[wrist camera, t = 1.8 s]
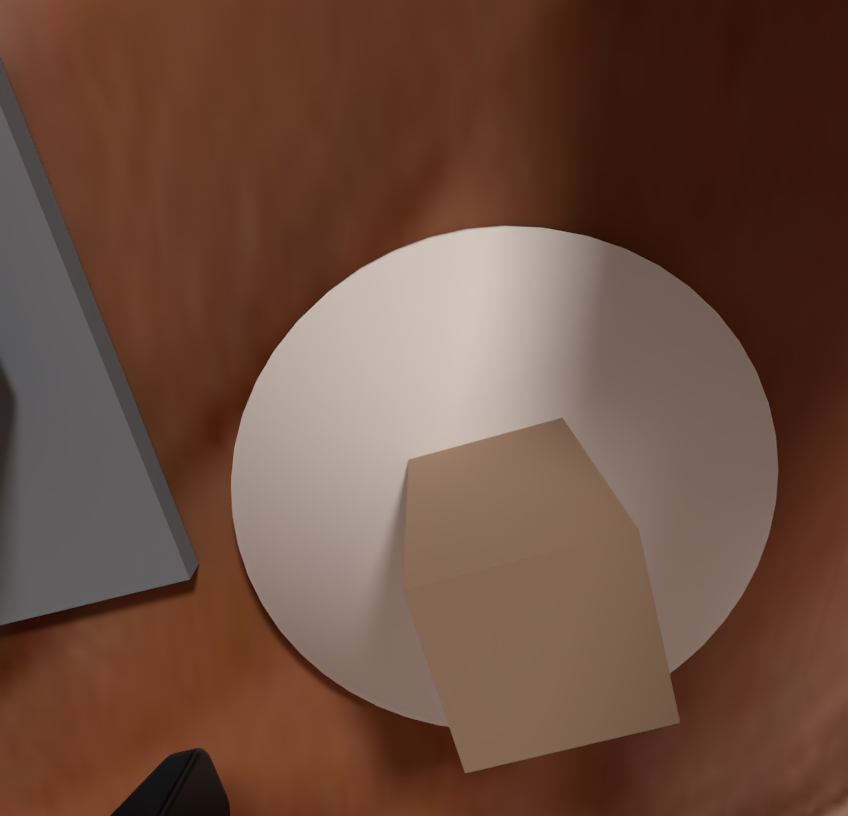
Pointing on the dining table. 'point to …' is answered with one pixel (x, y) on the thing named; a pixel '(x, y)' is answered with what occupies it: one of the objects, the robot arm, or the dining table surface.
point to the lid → (506, 487)
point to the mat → (67, 419)
